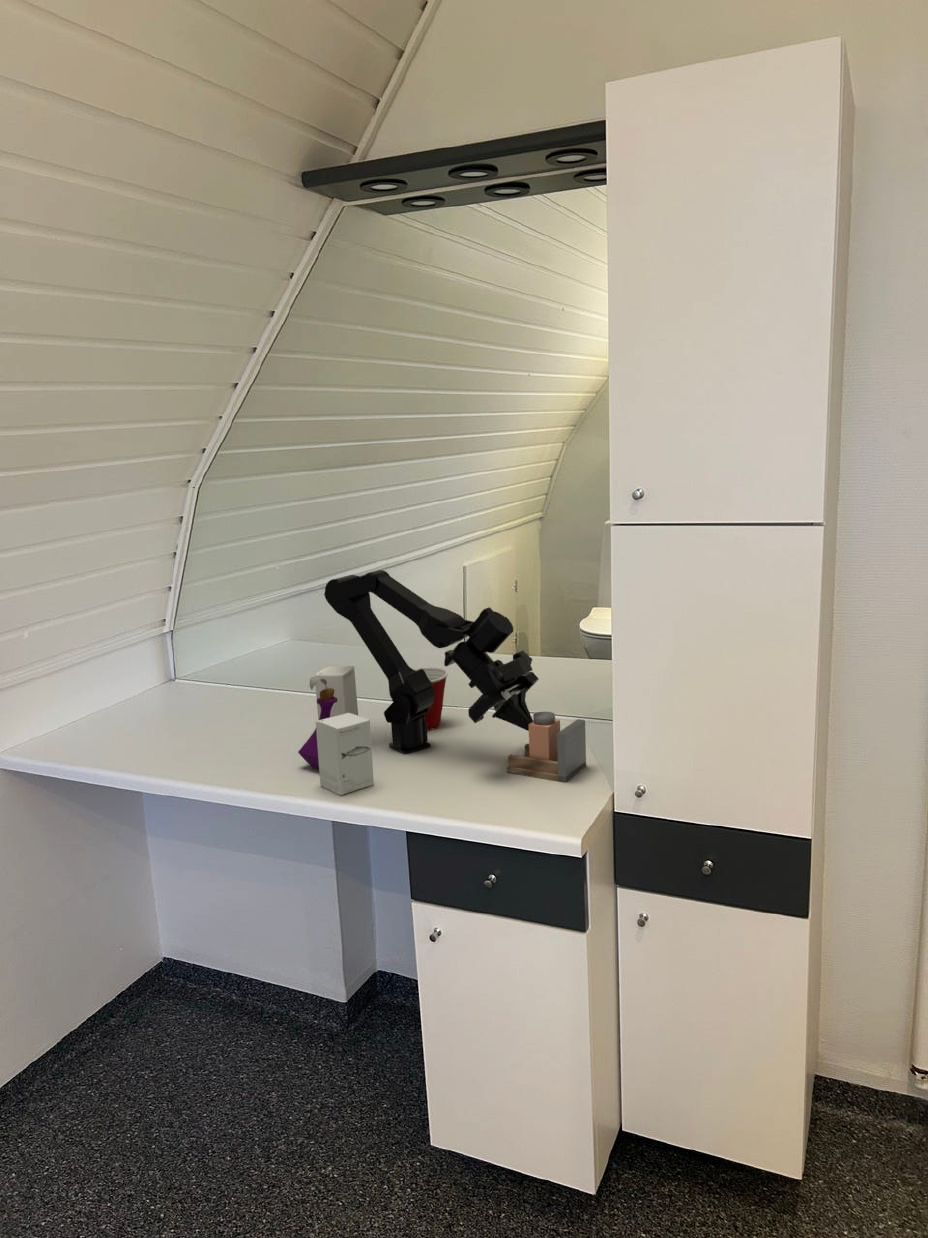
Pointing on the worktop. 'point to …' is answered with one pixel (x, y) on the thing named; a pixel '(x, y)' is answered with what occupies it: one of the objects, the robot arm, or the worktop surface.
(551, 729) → the knob slider
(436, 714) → the plastic cup
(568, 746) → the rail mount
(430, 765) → the worktop surface
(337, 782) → the supplement box
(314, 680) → the perfume bottle
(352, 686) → the skincare box
